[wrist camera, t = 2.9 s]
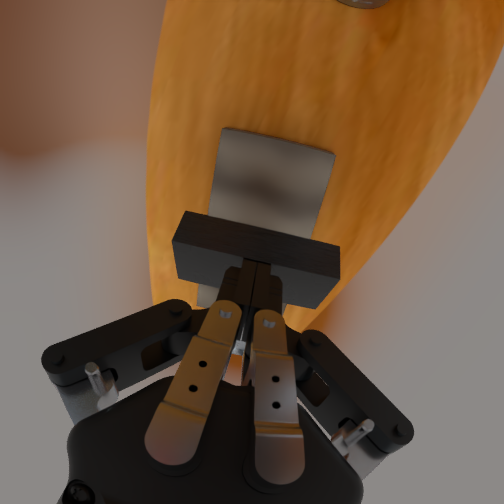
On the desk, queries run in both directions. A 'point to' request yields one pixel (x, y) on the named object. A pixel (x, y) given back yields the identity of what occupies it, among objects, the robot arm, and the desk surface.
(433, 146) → the desk surface
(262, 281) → the robot arm
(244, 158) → the base
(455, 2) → the desk surface
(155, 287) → the desk surface
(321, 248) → the lever
